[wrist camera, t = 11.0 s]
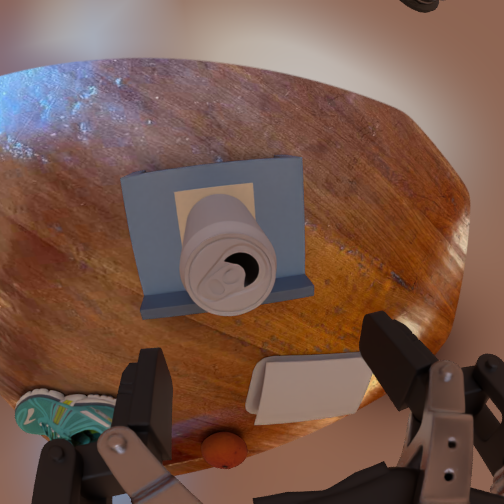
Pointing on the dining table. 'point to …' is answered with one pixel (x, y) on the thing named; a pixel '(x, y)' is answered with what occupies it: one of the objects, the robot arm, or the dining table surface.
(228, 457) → the fruit
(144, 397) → the robot arm
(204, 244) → the beverage can
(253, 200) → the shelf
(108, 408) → the running shoe
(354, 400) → the book
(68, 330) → the dining table surface
